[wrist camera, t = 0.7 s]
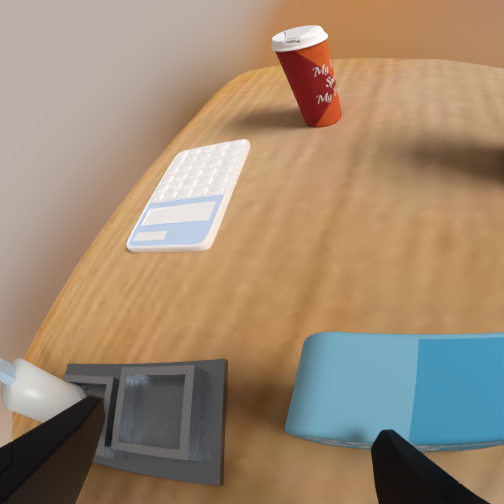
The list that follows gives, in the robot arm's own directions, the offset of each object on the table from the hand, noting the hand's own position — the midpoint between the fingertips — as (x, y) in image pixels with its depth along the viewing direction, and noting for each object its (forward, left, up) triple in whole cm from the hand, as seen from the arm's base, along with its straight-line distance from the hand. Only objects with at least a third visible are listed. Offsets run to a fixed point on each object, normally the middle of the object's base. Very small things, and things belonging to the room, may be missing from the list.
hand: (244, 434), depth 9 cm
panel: (+3, +18, -15) cm, 24 cm away
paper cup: (+42, -5, -15) cm, 45 cm away
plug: (+2, +23, -14) cm, 27 cm away
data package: (+1, -6, -15) cm, 17 cm away
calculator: (+32, +15, -16) cm, 39 cm away
